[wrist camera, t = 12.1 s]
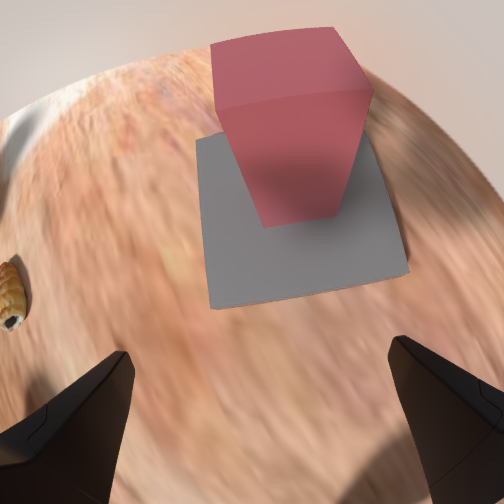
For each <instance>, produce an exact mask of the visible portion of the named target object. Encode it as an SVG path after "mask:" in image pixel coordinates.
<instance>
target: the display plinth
mask: <svg viewBox="0 0 504 504" xmlns="http://www.w3.org/2000/svg"><path fill="white" fill-rule="evenodd" d="M196 155H197V171H198V186H199V200H200V213H201V224H202V235H203V246H204V256H205V266H206V275H207V284H208V292H209V301H210V309H216V310H220V309H227V308H234V307H241V306H248V305H254V304H261V303H267V302H273V301H280V300H286V299H291V298H297V297H303V296H309V295H314V294H319V293H325V292H330V291H335V290H340V289H345V288H350V287H355V286H360V285H365V284H370V283H374V282H379V281H383V280H388V279H392V278H397V277H401V276H403V275H405V274H408V273H409V268H408V264H407V259H406V255H405V251H404V247H403V243H402V239H401V235H400V231H399V228H398V224H397V221H396V217H395V214H394V210H393V207H392V204H391V201H390V197H389V194H388V191H387V188H386V185H385V182H384V180H383V177H382V174H381V171H380V168H379V166H378V163H377V160H376V158H375V155H374V153H373V150H372V148H371V145H370V143H369V140H368V138H367V135H366V133H365V131H364V128H363V132H362V135H361V139H360V142H359V146H358V149H357V153H356V156H355V159H354V163H353V166H352V169H351V172H350V176H349V179H348V182H347V185H346V188H345V191H344V194H343V197H342V200H341V203H340V206H339V209H338V212H337V215H336V216H334V217H328V218H322V219H316V220H310V221H304V222H298V223H292V224H286V225H281V226H275V227H269V228H263V225H262V223H261V220H260V218H259V215H258V213H257V210H256V208H255V205H254V203H253V200H252V198H251V195H250V193H249V190H248V188H247V185H246V183H245V181H244V178H243V176H242V173H241V171H240V168H239V166H238V164H237V161H236V159H235V156H234V154H233V151H232V149H231V147H230V144H229V142H228V140H227V137H226V135H225V133H221V134H217V135H213V136H209V137H205V138H201V139H197V140H196Z"/></svg>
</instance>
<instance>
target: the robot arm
mask: <svg viewBox="0 0 504 504" xmlns="http://www.w3.org/2000/svg"><path fill="white" fill-rule="evenodd" d="M388 362H389V365H390V369H391V372H392V376H393V380H394V383H395V387H396V391H397V394H398V397H399V400H400V403H401V405H402V408H403V411H404V413H405V416H406V419H407V421H408V424H409V427H410V430H411V433H412V436H413V438H414V441H415V444H416V447H417V450H418V453H419V457H420V460H421V463H422V466H423V469H424V473H425V476H426V480H427V483H428V487H429V491H430V494H431V498H432V502H433V504H504V392H502V391H500V390H498V389H496V388H495V387H493V386H491V385H489V384H487V383H486V382H484V381H482V380H481V379H478V378H477V377H475V376H474V375H472V374H470V373H469V372H467V371H465V370H464V369H462V368H460V367H458V366H457V365H455V364H453V363H452V362H450V361H448V360H447V359H445V358H443V357H441V356H440V355H438V354H436V353H435V352H433V351H431V350H430V349H428V348H426V347H424V346H423V345H421V344H419V343H418V342H416V341H414V340H412V339H411V338H409V337H407V336H405V335H401V336H396V337H394V338H393V340H392V343H391V346H390V349H389V352H388ZM134 378H135V368H134V365H133V363H132V361H131V358H130V356H129V354H128V352H126V351H115V352H113V353H112V354H111V355H109V356H108V357H107V358H105V359H104V360H103V361H101V362H100V363H99V364H98V365H96V366H95V367H94V368H92V369H91V370H90V371H88V372H87V373H86V374H84V375H83V376H82V377H80V378H79V379H78V380H76V381H75V382H74V383H72V384H71V385H70V386H68V387H67V388H66V389H64V390H63V391H62V392H60V393H59V394H58V395H57V396H55V397H54V398H53V399H51V400H50V401H49V402H48V404H47V403H46V404H45V405H43V406H42V407H41V408H39V409H38V410H37V411H35V412H34V413H32V414H31V415H30V416H28V417H26V418H25V419H23V420H22V421H20V422H19V423H17V424H15V425H14V426H12V427H10V428H9V429H7V430H5V431H4V432H2V433H0V504H109V499H110V493H111V488H112V483H113V478H114V473H115V468H116V463H117V459H118V455H119V450H120V446H121V442H122V438H123V434H124V430H125V426H126V422H127V418H128V414H129V409H130V403H131V397H132V390H133V384H134Z"/></svg>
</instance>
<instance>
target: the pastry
mask: <svg viewBox="0 0 504 504" xmlns="http://www.w3.org/2000/svg"><path fill="white" fill-rule="evenodd" d="M24 291H25V289H24V286H23V284H22V281H21V278H20V276H19V273H18V271H17V269H16V267H15V266H14V265H13V264H11V263H9V262H8V263H7V262H4V263H3V264H2V265H1V266H0V327H1V328H2V329H3V330H5V331H6V332H11V331H12V330H14V329H17V328H18V326H19V325H20V323H21V322H22V321H23V320H24V319H25V316H26V310H27V299H26V297H25V294H24Z"/></svg>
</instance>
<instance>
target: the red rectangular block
mask: <svg viewBox="0 0 504 504" xmlns="http://www.w3.org/2000/svg"><path fill="white" fill-rule="evenodd" d="M210 47H211V62H212V75H213V88H214V100H215V111H216V114H217V116H218V118H219V121H220V123H221V125H222V128H223V130H224V132H225V135H226V137H227V140H228V142H229V144H230V147H231V149H232V151H233V154H234V156H235V159H236V161H237V164H238V166H239V168H240V171H241V173H242V176H243V178H244V181H245V183H246V185H247V188H248V190H249V193H250V195H251V198H252V200H253V203H254V205H255V208H256V210H257V213H258V215H259V218H260V220H261V223H262V225H263V228H269V227H275V226H281V225H286V224H292V223H298V222H304V221H310V220H316V219H322V218H328V217H334V216H336V215H337V212H338V209H339V206H340V203H341V200H342V197H343V194H344V191H345V188H346V185H347V182H348V179H349V176H350V172H351V169H352V166H353V163H354V159H355V156H356V153H357V149H358V146H359V142H360V139H361V135H362V132H363V128H364V124H365V121H366V117H367V113H368V109H369V106H370V102H371V98H372V94H373V90H374V89H373V87H372V86H371V84H370V82H369V80H368V79H367V77H366V75H365V74H364V72H363V70H362V69H361V67H360V65H359V64H358V62H357V61H356V59H355V58H354V56H353V55H352V53H351V52H350V50H349V49H348V47H347V46H346V44H345V43H344V41H343V40H342V39H341V37H340V36H339V34H338V33H337V31H336V30H335V29H334V27H320V28H305V29H293V30H284V31H276V32H269V33H262V34H256V35H251V36H245V37H241V38H236V39H231V40H227V41H222V42H218V43H214V44H211V45H210Z"/></svg>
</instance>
